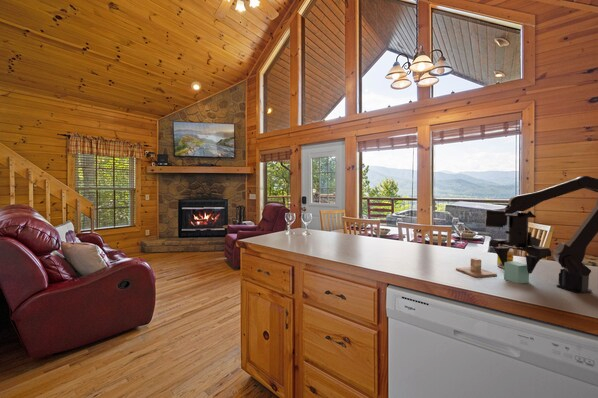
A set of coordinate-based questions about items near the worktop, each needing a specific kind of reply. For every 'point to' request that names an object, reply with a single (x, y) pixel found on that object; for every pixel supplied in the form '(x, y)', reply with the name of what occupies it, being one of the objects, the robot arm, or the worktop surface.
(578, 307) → the worktop surface
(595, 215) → the robot arm
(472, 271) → the post fixture
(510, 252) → the supplement bottle
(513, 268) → the mint tissue box
